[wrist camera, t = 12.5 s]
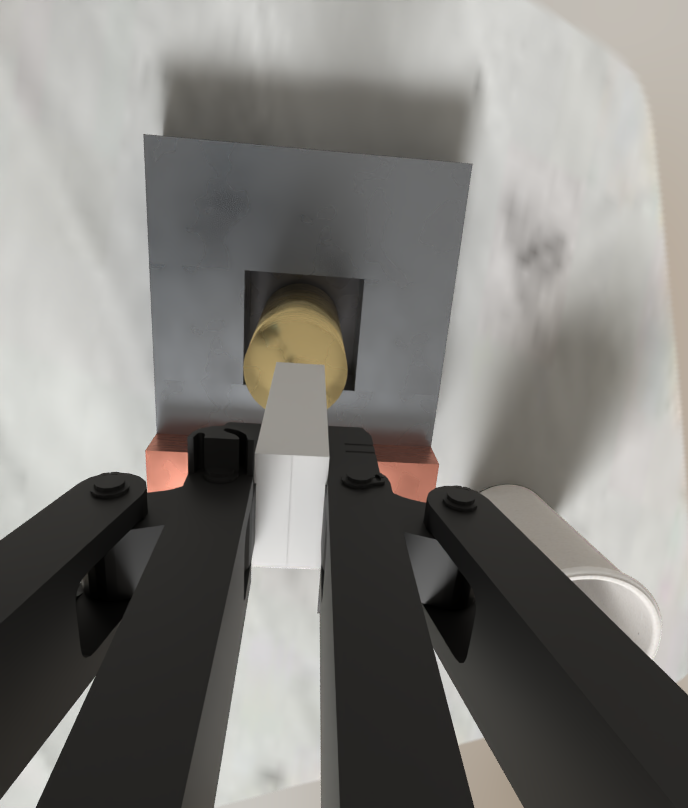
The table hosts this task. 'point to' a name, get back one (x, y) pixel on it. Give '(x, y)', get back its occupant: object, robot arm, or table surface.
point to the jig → (309, 264)
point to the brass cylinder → (296, 340)
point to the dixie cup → (583, 565)
